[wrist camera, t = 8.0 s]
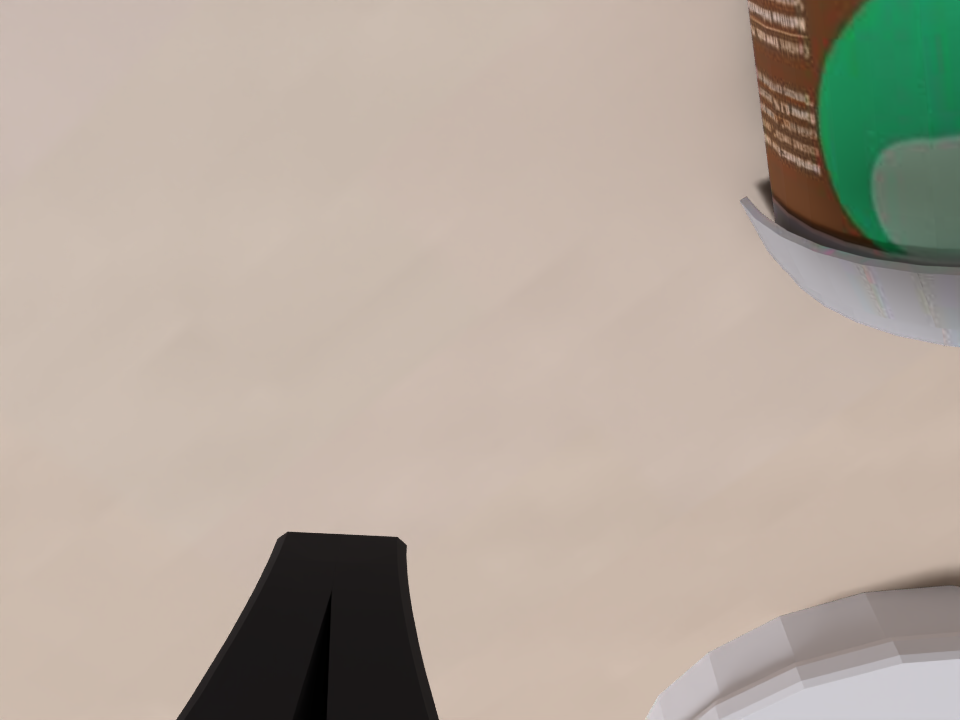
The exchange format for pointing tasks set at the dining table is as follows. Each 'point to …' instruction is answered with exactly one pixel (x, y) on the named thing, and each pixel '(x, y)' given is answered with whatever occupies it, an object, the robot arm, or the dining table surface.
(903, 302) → the food container
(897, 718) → the lid
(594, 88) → the dining table surface
